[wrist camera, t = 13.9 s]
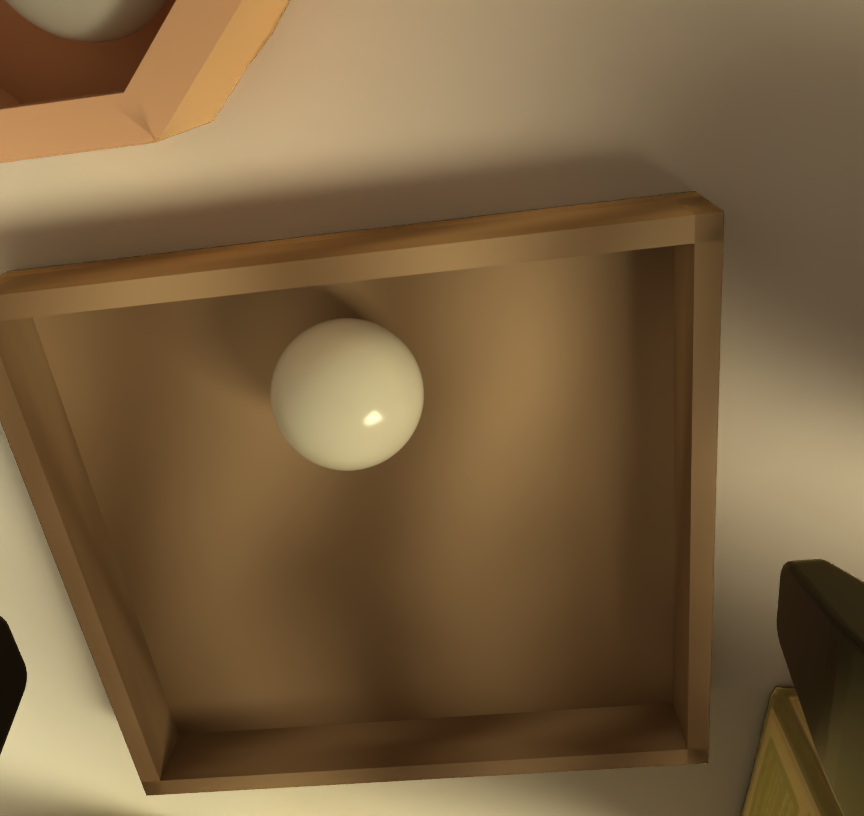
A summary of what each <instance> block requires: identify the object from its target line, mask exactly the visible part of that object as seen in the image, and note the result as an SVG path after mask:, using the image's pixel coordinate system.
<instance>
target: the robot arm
mask: <svg viewBox="0 0 864 816" xmlns="http://www.w3.org/2000/svg"><path fill="white" fill-rule="evenodd" d="M777 631H778V637H779V641H780V645H781V648H782V651H783V654H784V657H785V660H786V663H787V666H788V669H789V672H790V675H791V678H792V681H793V684H794V687H795V690H796V692H797V695H798V698H799V701H800V704H801V707H802V710H803V713H804V716H805V719H806V722H807V725H808V728H809V731H810V734H811V737H812V740H813V743H814V746H815V749H816V752H817V755H818V757H819V760H820V763H821V766H822V768H823V771H824V774H825V776H826V778H827V780H828V783H829V785H830V787H831V790H832V792H833V794H834V796H835V799H836V801H837V803H838V805H839V807H840V809H841V811H842V813H843V816H864V582H862V581H860V580H859V579H857V578H855V577H854V576H852V575H850V574H848V573H847V572H845V571H843V570H842V569H840V568H838V567H837V566H835V565H833V564H831V563H830V562H828V561H825V560H822V559H813V560H798V561H789V562H787V563H786V564H785V565H783V568H782V571H781V576H780V588H779V600H778V612H777ZM26 681H27V671H26V666H25V663H24V661H23V658H22V656H21V654H20V651H19V649H18V647H17V644H16V642H15V640H14V637H13V635H12V633H11V630H10V628H9V626H8V624H7V622H6V621H5V620H4V619H3V618H2V617H1V616H0V754H1V752H2V749H3V746H4V744H5V741H6V738H7V736H8V733H9V730H10V728H11V725H12V722H13V720H14V717H15V714H16V712H17V709H18V706H19V704H20V701H21V698H22V696H23V693H24V690H25V687H26Z"/></svg>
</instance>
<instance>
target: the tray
mask: <svg viewBox="0 0 864 816" xmlns="http://www.w3.org/2000/svg"><path fill="white" fill-rule="evenodd" d="M723 232H724V212H723V211H722V210H721V209H719V208H718V207H716V206H715V205H713V204H712V203H711V202H709V201H708V200H706V199H705V198H703V197H702V196H701V195H699V194H698V193H696V192H695V191H691V192H683V193H674V194H666V195H657V196H649V197H640V198H632V199H623V200H615V201H606V202H597V203H589V204H580V205H572V206H563V207H555V208H546V209H538V210H529V211H521V212H512V213H504V214H495V215H486V216H478V217H469V218H461V219H452V220H444V221H435V222H427V223H418V224H410V225H401V226H393V227H384V228H375V229H367V230H358V231H350V232H341V233H333V234H324V235H316V236H307V237H299V238H290V239H282V240H273V241H264V242H256V243H247V244H239V245H230V246H222V247H213V248H205V249H196V250H188V251H179V252H170V253H162V254H153V255H145V256H136V257H128V258H119V259H111V260H102V261H94V262H85V263H77V264H68V265H59V266H51V267H42V268H34V269H25V270H17V271H8V272H6V273H4V274H2V275H0V421H1V424H2V426H3V429H4V431H5V434H6V436H7V439H8V442H9V444H10V447H11V449H12V452H13V454H14V457H15V460H16V462H17V465H18V467H19V470H20V472H21V475H22V477H23V480H24V483H25V485H26V488H27V490H28V493H29V495H30V498H31V501H32V503H33V506H34V508H35V511H36V513H37V516H38V518H39V521H40V524H41V526H42V529H43V531H44V534H45V536H46V539H47V542H48V544H49V547H50V549H51V552H52V554H53V557H54V559H55V562H56V565H57V567H58V570H59V572H60V575H61V577H62V580H63V583H64V585H65V588H66V590H67V593H68V595H69V598H70V600H71V603H72V606H73V608H74V611H75V613H76V616H77V618H78V621H79V624H80V626H81V629H82V631H83V634H84V636H85V639H86V641H87V644H88V647H89V649H90V652H91V654H92V657H93V659H94V662H95V665H96V667H97V670H98V672H99V675H100V677H101V680H102V682H103V685H104V688H105V690H106V693H107V695H108V698H109V700H110V703H111V706H112V708H113V711H114V713H115V716H116V718H117V721H118V723H119V726H120V729H121V731H122V734H123V736H124V739H125V741H126V744H127V747H128V749H129V752H130V754H131V757H132V759H133V762H134V764H135V767H136V770H137V772H138V775H139V777H140V780H141V782H142V785H143V788H144V790H145V793H146V795H163V794H180V793H198V792H215V791H232V790H249V789H267V788H284V787H301V786H319V785H336V784H353V783H371V782H388V781H405V780H422V779H440V778H457V777H474V776H492V775H509V774H526V773H544V772H561V771H578V770H595V769H613V768H630V767H647V766H665V765H682V764H699V763H708V750H709V715H710V681H711V646H712V612H713V577H714V543H715V508H716V474H717V439H718V405H719V370H720V336H721V301H722V266H723ZM338 318H356V319H362V320H367V321H370V322H373V323H376V324H378V325H380V326H382V327H384V328H386V329H387V330H389V331H391V332H392V333H393V334H395V335H396V336H397V337H398V338H399V339H401V340H402V342H403V343H404V344H405V345H406V346H407V347H408V348H409V350H410V351H411V353H412V354H413V356H414V358H415V360H416V362H417V364H418V366H419V369H420V372H421V375H422V380H423V387H424V403H423V409H422V413H421V417H420V420H419V423H418V425H417V427H416V429H415V431H414V433H413V435H412V436H411V438H410V439H409V440H408V442H407V443H406V444H405V445H404V446H403V447H402V448H401V449H400V450H399V451H398V452H397V453H396V454H394V455H393V456H392V457H390V458H389V459H387V460H386V461H384V462H382V463H380V464H377V465H375V466H372V467H369V468H365V469H361V470H354V471H342V470H334V469H329V468H325V467H322V466H319V465H317V464H315V463H312V462H311V461H309V460H307V459H306V458H304V457H303V456H301V455H300V454H299V453H297V452H296V451H295V450H294V449H293V448H292V447H291V446H290V445H289V443H288V442H287V441H286V440H285V438H284V437H283V435H282V434H281V432H280V431H279V428H278V426H277V424H276V422H275V419H274V415H273V412H272V407H271V397H270V390H271V381H272V376H273V373H274V370H275V367H276V364H277V362H278V360H279V358H280V356H281V355H282V353H283V352H284V350H285V349H286V347H287V346H288V345H289V344H290V343H291V342H292V341H293V339H295V338H296V337H297V336H298V335H299V334H300V333H302V332H304V331H305V330H307V329H308V328H310V327H312V326H314V325H316V324H318V323H321V322H324V321H327V320H332V319H338Z"/></svg>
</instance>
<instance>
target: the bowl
mask: <svg viewBox="0 0 864 816" xmlns="http://www.w3.org/2000/svg"><path fill="white" fill-rule="evenodd" d="M289 1H290V0H167V2H166V4H165V5H164V7H163V8H162V10H161V11H160V12H159V13H158V15H157V16H156V17H155V18H154V19H153V20H152V21H151V22H150V23H149V24H148V25H146V26H145V27H144V28H142V29H141V30H139V31H138V32H136V33H134V34H132V35H130V36H128V37H125V38H122V39H119V40H115V41H110V42H103V43H85V42H78V41H72V40H68V39H65V38H61V37H58V36H56V35H53V34H51V33H49V32H46V31H44V30H42V29H41V28H39V27H37V26H36V25H34V24H32V23H30V22H29V21H28V20H26V19H25V18H24V17H22V16H21V15H20V14H18V13H17V12H16V11H15V10H14V9H13V8H12V7H11V6H10V5H9V4H7V3H6V1H5V0H0V163H2V162H10V161H17V160H25V159H33V158H41V157H48V156H56V155H64V154H72V153H79V152H87V151H95V150H102V149H110V148H118V147H126V146H133V145H141V144H149V143H155V142H157V141H160V140H163V139H166V138H168V137H171V136H174V135H177V134H179V133H182V132H185V131H188V130H190V129H193V128H196V127H199V126H201V125H204V124H207V123H210V121H213V120H214V119H215V117H216V116H217V114H218V113H219V111H220V109H221V108H222V106H223V105H224V103H225V101H226V100H227V98H228V97H229V95H230V93H231V92H232V90H233V89H234V87H235V85H236V84H237V82H238V80H239V79H240V77H241V76H242V74H243V72H244V71H245V69H246V68H247V66H248V64H249V63H250V62H251V61H252V60H253V59H254V58H255V57H256V55H257V54H258V53H259V51H260V50H261V48H262V47H263V46H264V44H265V43H266V41H267V40H268V39H269V37H270V36H271V35H272V33H273V31H274V30H275V28H276V26H277V24H278V22H279V20H280V18H281V16H282V15H283V13H284V11H285V9H286V7H287V5H288V3H289Z"/></svg>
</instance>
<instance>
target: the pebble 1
mask: <svg viewBox="0 0 864 816" xmlns="http://www.w3.org/2000/svg"><path fill="white" fill-rule="evenodd" d="M5 1H6V3H7V4H9V5H10V6H11V7H12V8H13V9H14V10H15V11H16V12H17V13H18V14H20V15H21V16H22V17H24V18H25V19H26V20H28V21H29V22H30V23H32V24H34V25H36V26H37V27H39V28H41V29H42V30H44V31H46V32H49V33H51V34H53V35H56V36H58V37H61V38H65V39H68V40H72V41H78V42H85V43H103V42H110V41H115V40H119V39H122V38H125V37H128V36H130V35H132V34H134V33H136V32H138V31H139V30H141V29H142V28H144V27H145V26H146V25H148V24H149V23H150V22H151V21H152V20H153V19H154V18H155V17H156V16H157V15H158V13H159V12H160V11H161V10H162V8H163V7H164V5H165V4H166V2H167V0H5Z"/></svg>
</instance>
